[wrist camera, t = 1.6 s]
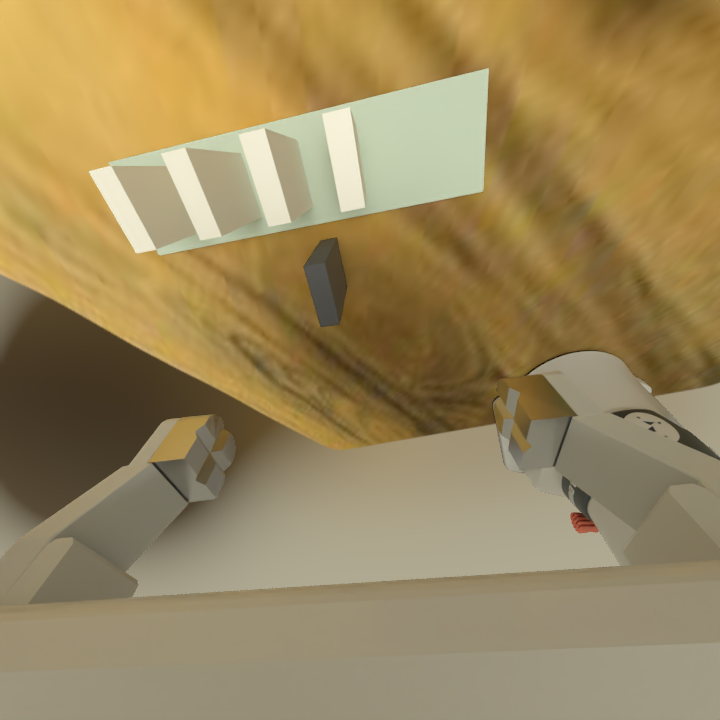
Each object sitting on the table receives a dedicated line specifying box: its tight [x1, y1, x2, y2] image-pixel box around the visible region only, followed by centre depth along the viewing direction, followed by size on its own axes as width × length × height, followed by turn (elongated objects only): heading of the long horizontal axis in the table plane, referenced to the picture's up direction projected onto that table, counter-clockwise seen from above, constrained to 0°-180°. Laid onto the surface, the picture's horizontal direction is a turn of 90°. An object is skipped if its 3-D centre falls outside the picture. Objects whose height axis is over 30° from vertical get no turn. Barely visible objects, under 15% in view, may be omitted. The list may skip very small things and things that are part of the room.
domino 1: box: [89, 166, 197, 253], centre depth 23 cm, size 5×2×9 cm, turn 10°
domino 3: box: [238, 128, 313, 227], centre depth 22 cm, size 5×2×9 cm, turn 10°
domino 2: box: [161, 148, 262, 241], centre depth 22 cm, size 5×2×9 cm, turn 10°
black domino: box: [304, 237, 347, 327], centre depth 26 cm, size 5×2×9 cm, turn 10°
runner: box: [108, 68, 489, 256], centre depth 26 cm, size 8×32×1 cm, turn 100°
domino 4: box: [322, 107, 367, 212], centre depth 21 cm, size 5×2×9 cm, turn 10°
